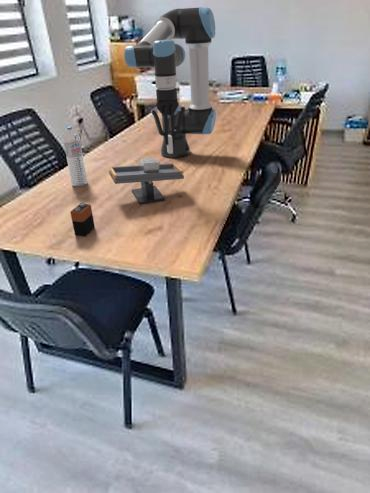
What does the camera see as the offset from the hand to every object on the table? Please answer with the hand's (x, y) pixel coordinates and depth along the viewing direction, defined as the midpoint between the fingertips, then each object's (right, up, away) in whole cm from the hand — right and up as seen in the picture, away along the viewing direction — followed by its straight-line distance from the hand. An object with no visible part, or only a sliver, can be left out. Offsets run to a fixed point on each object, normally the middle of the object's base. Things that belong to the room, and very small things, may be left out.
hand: (170, 152), depth 156 cm
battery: (-29, -32, -18) cm, 46 cm away
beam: (-9, -9, +2) cm, 13 cm away
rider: (-8, -8, +1) cm, 11 cm away
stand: (-9, -16, +6) cm, 20 cm away
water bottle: (-41, -9, +21) cm, 46 cm away
